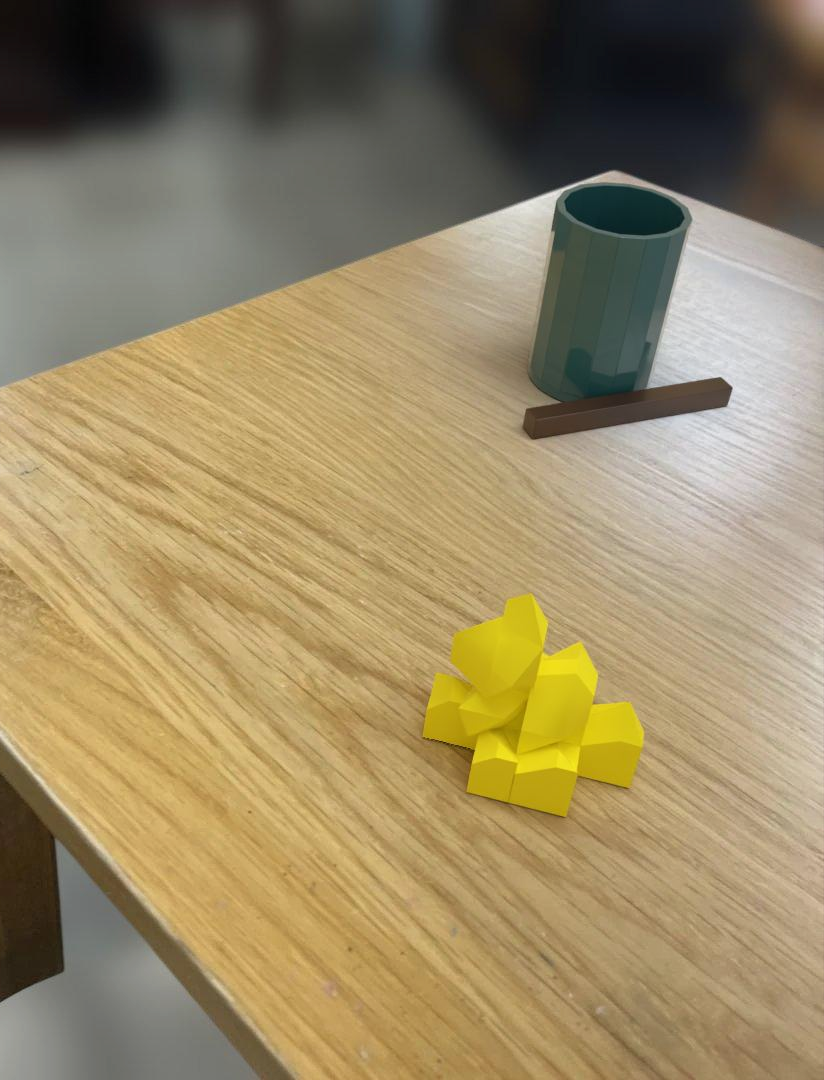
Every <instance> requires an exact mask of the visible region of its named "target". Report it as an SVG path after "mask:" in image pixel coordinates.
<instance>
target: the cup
mask: <svg viewBox="0 0 824 1080" xmlns="http://www.w3.org/2000/svg"><path fill="white" fill-rule="evenodd" d="M693 220H694V219H693V217H692V214H691V212H690V209H689V208H688V207H687V206H686V205H684V203H682V202H681V201H680V200H678V199H677V198H675V197H673V196H671V195H669V194H666V193H664V192H662V191H660V190H656V189H654V188H650V187H645V186H642V185H636V184H631V183H626V182H625V183H623V182H622V183H621V182H609V181H608V182H607V181H600V182H591V183H583V184H582V183H581V184H579V185H576V186H573V187H570V188H568V189H565V190H564V191H563V192H562V193H561V194H560V195H559V196H558V198H557V199H556V201H555V206H554V212H553V218H552V221H551V222H552V223H551V228H550V233H549V238H548V239H549V240H548V246H547V251H546V255H545V256H546V257H545V262H544V266H543V273H542V277H541V278H542V279H541V285H540V290H539V295H538V299H537V305H536V306H537V307H536V310H535V311H536V312H535V317H534V322H533V329H532V334H531V338H530V339H531V340H530V346H529V350H528V363H527V375H528V376H529V379H530V381H531V382H532V383H533V384H534V385H535V386H536V387H537V388H538V389H539V390H540V391H542V392H543V393H545V394H546V395H548V396H549V397H552V398H554V399H556V400H559V401H560V402H562V403H563V402H569V401H575V400H582V399H588V398H594V397H600V396H606V395H612V394H618V393H624V392H631V391H637V390H643V389H649V387H650V384H651V380H652V379H653V376H654V371H655V367H656V364H657V360H658V356H659V353H660V349H661V345H662V340H663V336H664V334H665V329H666V325H667V322H668V317H669V314H670V310H671V305H672V302H673V297H674V294H675V291H676V286H677V282H678V279H679V274H680V271H681V268H682V263H683V258H684V255H685V253H686V252H685V251H686V247H687V243H688V240H689V236H690V233H691V228H692V224H693Z"/></svg>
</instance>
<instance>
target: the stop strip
mask: <svg viewBox="0 0 824 1080" xmlns="http://www.w3.org/2000/svg"><path fill="white" fill-rule="evenodd" d="M733 390H734V388H733V386H732V385H731V384H730V383H729V382H728V381H726V380H725V379H724V378H723V377H721V376H718V377H712V378H704V379H699V380H693V381H686V382H680V383H673V384H668V385H662V386H656V387H650V388H649V387H648V389H643V390H637V391H631V392H624V393H618V394H612V395H606V396H600V397H594V398H588V399H582V400H575V401H569V402H563V401H562V402H557V403H551V404H545V405H539V406H532V407H527V408H526V409H525V411H524V417H523V423H522V428H523V429H524V430H525V432H526V433H527V434H528V435H529V436H530V438H531V439H533V440H534V439H539V438H545V437H551V436H552V437H553V436H556V435H562V434H563V435H564V434H569V433H574V432H580V431H581V432H582V431H586V430H593V429H599V428H604V427H610V426H615V425H622V424H627V423H633V422H639V421H645V420H650V419H651V420H652V419H657V418H663V417H667V416H668V417H670V416H675V415H680V414H687V413H691V412H698V411H705V410H710V409H715V408H721V407H727V406H728V405H729V402H730V400H731V399H730V398H731V396H732V392H733Z"/></svg>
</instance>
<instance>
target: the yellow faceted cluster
mask: <svg viewBox="0 0 824 1080" xmlns="http://www.w3.org/2000/svg"><path fill="white" fill-rule="evenodd" d="M505 602H506V603H505V607H504V611H503V615H502V616H498V617H496V618H493V619H490V620H487V621H485V622H482V623H479V624H476V625H473V626H470V627H468V628H465V629H461V630H459V631H457V632H454V634H453V637H452V644H451V650H450V656H449V662H450V663H452V665H453V666H454V667H455V668H456V669H457V670H458V671H459V672H460V673H461V675H462V676H464V677H465V678H466V679H467V680H468V681H469V682H467V681H466V680H463V679H461V678H460V677H457V676H454V675H450V674H446V673H441V672H435V674H434V675H435V676H434V680H433V684H432V687H431V688H432V689H431V692H430V696H429V700H428V704H427V707H426V711H425V716H424V724H423V731H422V738H423V737H425V738H424V739H427V738H429V739H428V740H431V739H435V740H439V741H443V742H447V743H450V744H449V745H451V744H454V745H453V746H455V745H459V746H463V747H468V748H470V749H469V750H472V751H474V752H473V756H472V761H471V764H470V765H471V766H470V771H469V775H468V780H467V781H468V782H467V786H466V791H465V792H466V793H467V794H468V793H469V794H472V795H476V796H481V797H485V798H488V799H492V800H496V801H500V802H503V803H508V804H512V805H516V806H520V807H523V808H524V807H525V808H528V809H532V810H535V811H539V812H543V813H548V814H551V815H556V816H559V817H563V818H567V817H568V816H567V815H568V813H569V809H570V805H571V802H572V798H573V795H574V790H575V787H576V783H577V779H578V777H581V778H586V779H590V780H595V781H599V782H602V783H606V784H610V785H613V786H614V785H615V786H618V787H622V788H626V789H630V787H631V785H632V781H633V780H634V779H633V778H634V776H635V772H636V769H637V766H638V763H639V760H640V757H641V755H642V750H643V748H644V739H645V729H644V728H643V726H642V724H641V721H640V720H639V717H638V716H637V713H636V711H635V709H634V707H633V704H632V703H631V701H622V702H621V701H620V702H611V703H597V704H593V703H594V700H595V699H594V698H595V695H596V691H597V684H598V680H599V679H598V678H599V673H598V671H597V669H596V668H595V665H594V664H593V662H592V659H591V658H590V655H589V654H588V652H587V650H586V647H585V646H584V644H583V642H582V640H580V641H578V642H576V643H573V644H572V645H569V646H568V647H565V648H564V649H561V650H559V651H558V652H555V653H554V654H550V655H548V654H546V653H545V652H544V647H545V643H546V637H547V632H548V626H549V621H548V620H547V618H546V616H545V614H544V612H543V611H542V609H541V607H540V606H539V603H538V602H537V600H536V598H535V597H534V595H533V593H532V592H530V593H526V594H522V595H519V596H516V597H511V598H507V599H506V601H505ZM435 740H434V741H435ZM439 741H438V742H439ZM443 742H442V743H443ZM447 743H446V744H447ZM459 746H458V747H459ZM463 747H462V748H463ZM468 748H467V749H468Z"/></svg>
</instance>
